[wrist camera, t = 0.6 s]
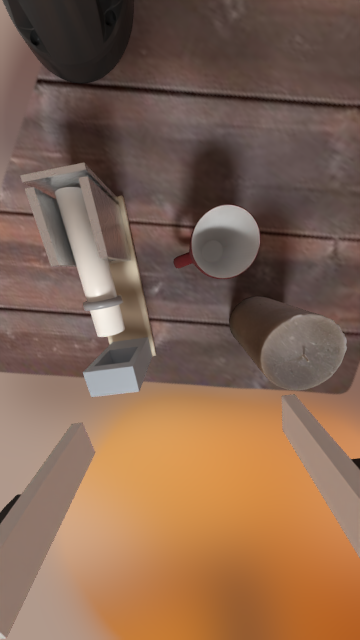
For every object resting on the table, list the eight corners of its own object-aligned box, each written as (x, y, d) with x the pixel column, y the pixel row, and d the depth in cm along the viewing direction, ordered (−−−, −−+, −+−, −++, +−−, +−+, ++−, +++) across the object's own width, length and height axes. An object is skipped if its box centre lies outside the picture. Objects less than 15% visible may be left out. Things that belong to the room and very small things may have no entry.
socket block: (112, 341, 34) (82, 372, 24) (148, 337, 34) (132, 366, 24) (117, 360, 35) (91, 397, 25) (152, 355, 35) (139, 391, 25)
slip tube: (67, 205, 24) (37, 189, 19) (103, 198, 24) (82, 180, 19) (102, 328, 29) (85, 340, 24) (133, 324, 29) (122, 335, 24)
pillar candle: (239, 352, 35) (279, 410, 21) (221, 308, 33) (253, 340, 18) (287, 332, 34) (366, 380, 19) (272, 285, 31) (349, 300, 17)
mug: (188, 290, 32) (190, 299, 22) (167, 247, 30) (159, 237, 20) (243, 262, 30) (270, 259, 21) (224, 215, 28) (245, 188, 19)
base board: (73, 207, 29) (70, 205, 28) (123, 197, 28) (122, 195, 27) (115, 358, 36) (114, 360, 35) (156, 353, 35) (155, 355, 35)
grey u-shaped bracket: (75, 206, 28) (20, 175, 18) (118, 198, 27) (84, 162, 18) (91, 267, 30) (51, 266, 21) (131, 260, 30) (107, 256, 21)
